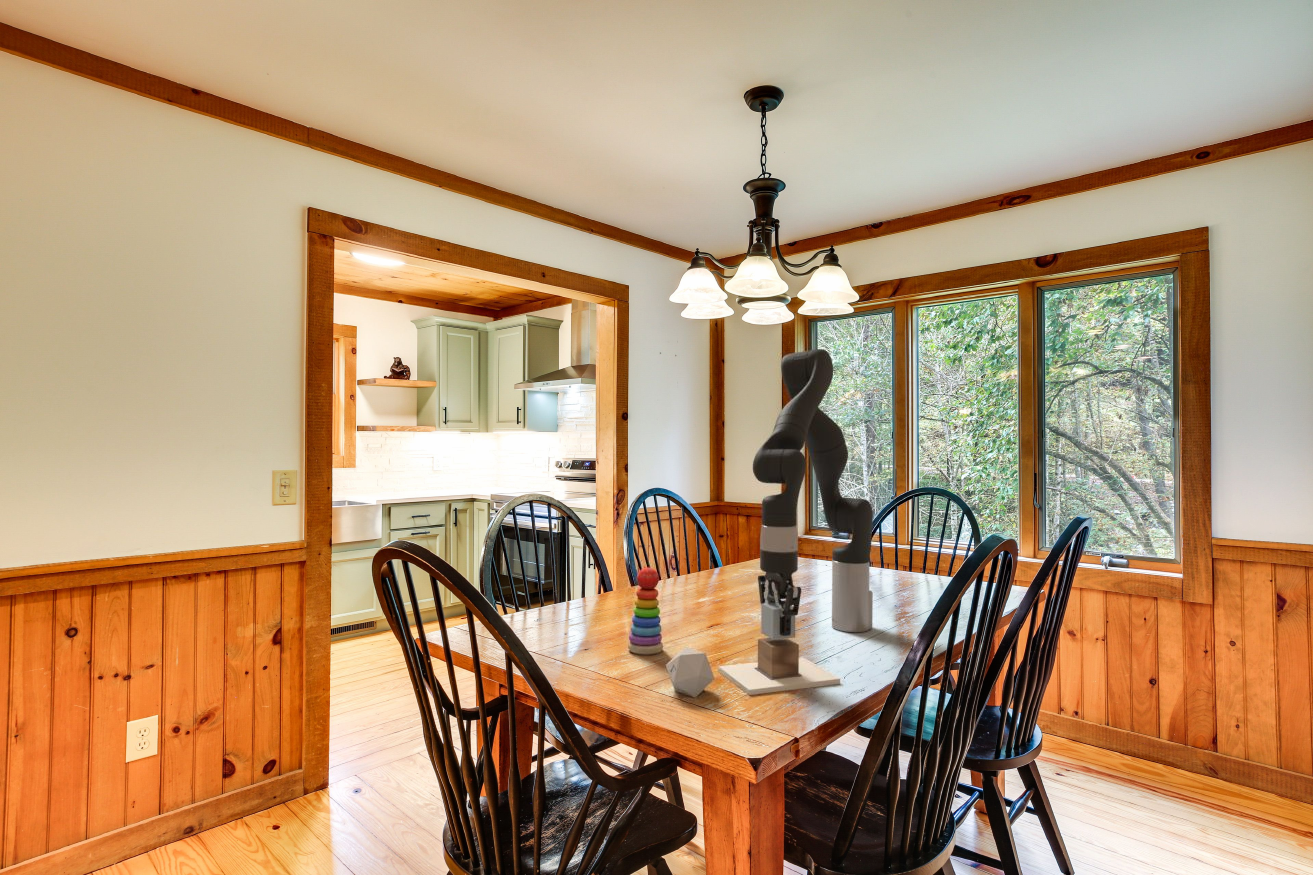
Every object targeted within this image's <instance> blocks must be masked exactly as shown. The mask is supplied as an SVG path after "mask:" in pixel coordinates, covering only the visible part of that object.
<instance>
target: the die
mask: <svg viewBox="0 0 1313 875" xmlns="http://www.w3.org/2000/svg"><path fill="white" fill-rule="evenodd" d="M710 664H711V663H709V659H708V656H707V654H706V652H703V651H700V650H696V649H692V648H689V647H684V648H683V649H682V650H680V652H678V653H676V655H675V656H674V657H673V658H672V659H671V660H670V661H669V662H668V663H666V664H665V667H666V670H667V673H668V676H669V678H670V681H671V683H672V687H673V690H674V691H675V692H678V693H681V694H683V695H686V696H689V697H693V698H696V697H697V696H699V695H700V694H701V693H702V692H703V691H704V690H705V689H706V688H707V687H708V686H709V685H710V684H711V683H712V682H713V681H714V680H715V676H714V672H713V671H712V667H711V665H710Z"/></svg>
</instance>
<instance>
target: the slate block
mask: <svg viewBox="0 0 1313 875" xmlns="http://www.w3.org/2000/svg"><path fill="white" fill-rule="evenodd" d="M760 606H761V607H760V608H761V612H760V613H761V614H760V615H761V617H760V619H761V621H760V623H761V626H760V628H761V630H760V633H761V634H763V635H764V636H765V637H766V638H771V639H772V640H776V639H786V638H788V639H792V638H793V639H795V638H796V615H794V616H792V617H791V634H790V635H788V636H782V635H780V614H779V607H778V605H776V603H763V604H761V603H760ZM793 606H794V605H792V609H793ZM783 607H784V609H785V605H783Z"/></svg>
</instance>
